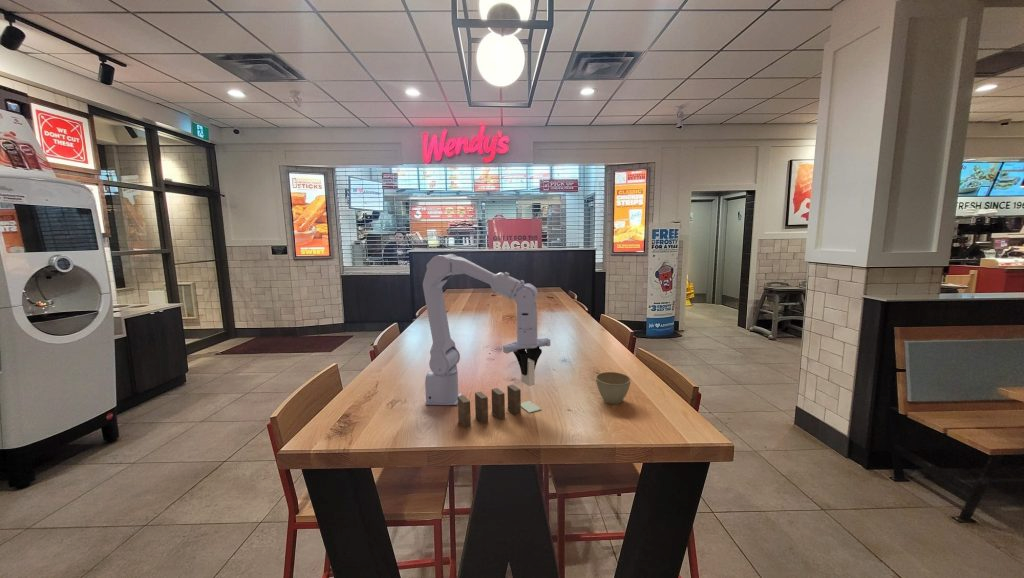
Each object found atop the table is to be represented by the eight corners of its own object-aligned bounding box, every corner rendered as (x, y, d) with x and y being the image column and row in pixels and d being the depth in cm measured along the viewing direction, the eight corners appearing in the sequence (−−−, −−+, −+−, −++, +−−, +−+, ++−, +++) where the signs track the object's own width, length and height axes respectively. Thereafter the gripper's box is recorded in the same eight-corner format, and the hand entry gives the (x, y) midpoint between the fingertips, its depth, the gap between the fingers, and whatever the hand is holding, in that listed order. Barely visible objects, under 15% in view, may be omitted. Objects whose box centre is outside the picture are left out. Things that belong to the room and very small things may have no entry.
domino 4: (515, 415, 107) (514, 390, 106) (507, 409, 111) (507, 385, 110) (520, 413, 108) (520, 389, 107) (513, 407, 112) (512, 384, 111)
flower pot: (589, 401, 115) (589, 378, 114) (606, 391, 122) (606, 369, 121) (620, 411, 108) (620, 386, 107) (636, 400, 116) (636, 377, 115)
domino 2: (482, 423, 102) (481, 398, 101) (475, 417, 106) (474, 392, 105) (488, 422, 103) (487, 397, 102) (481, 415, 107) (480, 391, 106)
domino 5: (529, 386, 109) (528, 362, 108) (521, 381, 113) (521, 357, 112) (534, 384, 110) (534, 360, 109) (526, 379, 113) (526, 356, 113)
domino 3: (499, 419, 105) (498, 394, 104) (492, 413, 109) (491, 389, 108) (504, 417, 106) (504, 393, 105) (497, 411, 109) (497, 387, 108)
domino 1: (464, 428, 100) (463, 402, 99) (458, 421, 104) (457, 396, 103) (470, 426, 101) (470, 401, 100) (464, 419, 105) (463, 395, 104)
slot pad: (529, 413, 108) (529, 412, 108) (517, 404, 114) (517, 403, 114) (541, 409, 110) (541, 408, 110) (529, 401, 115) (529, 400, 115)
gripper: (511, 333, 102) (512, 382, 104) (556, 326, 109) (556, 373, 111) (499, 328, 108) (500, 374, 110) (542, 322, 115) (543, 366, 117)
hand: (527, 373), depth 111 cm, fingers closed on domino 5, 2 cm apart
